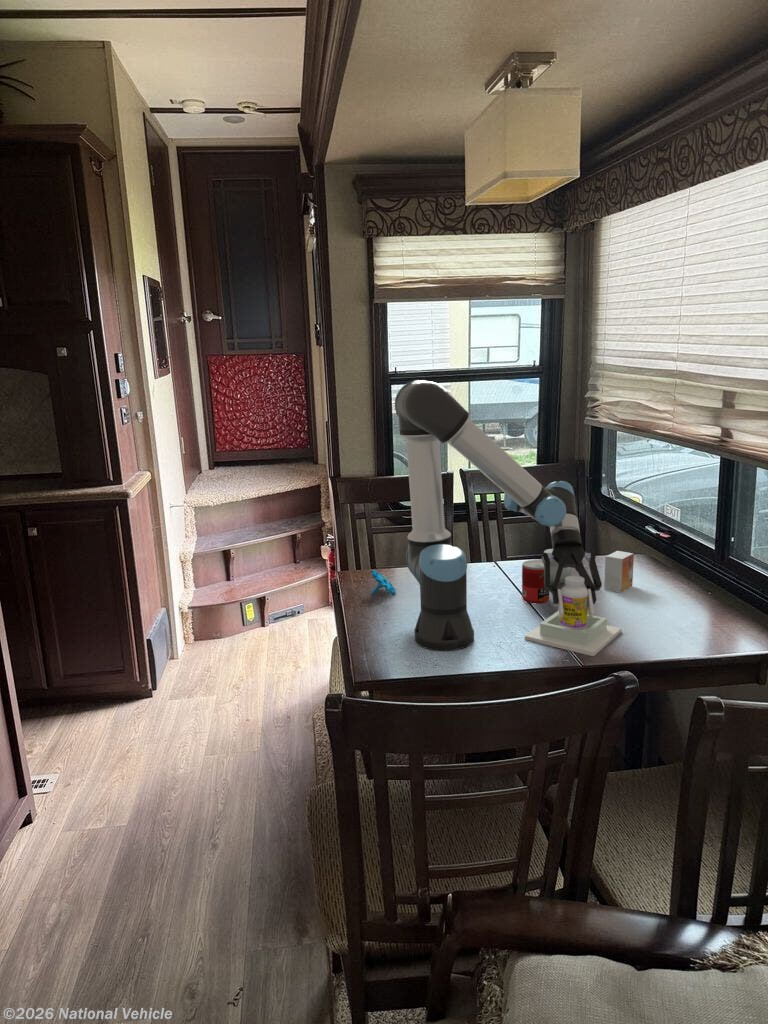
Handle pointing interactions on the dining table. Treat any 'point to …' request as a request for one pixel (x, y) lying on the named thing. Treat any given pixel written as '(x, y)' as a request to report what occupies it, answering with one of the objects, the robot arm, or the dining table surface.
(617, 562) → the small box
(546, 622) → the tray
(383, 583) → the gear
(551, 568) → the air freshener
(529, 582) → the canned food
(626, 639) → the dining table surface
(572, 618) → the supplement bottle
